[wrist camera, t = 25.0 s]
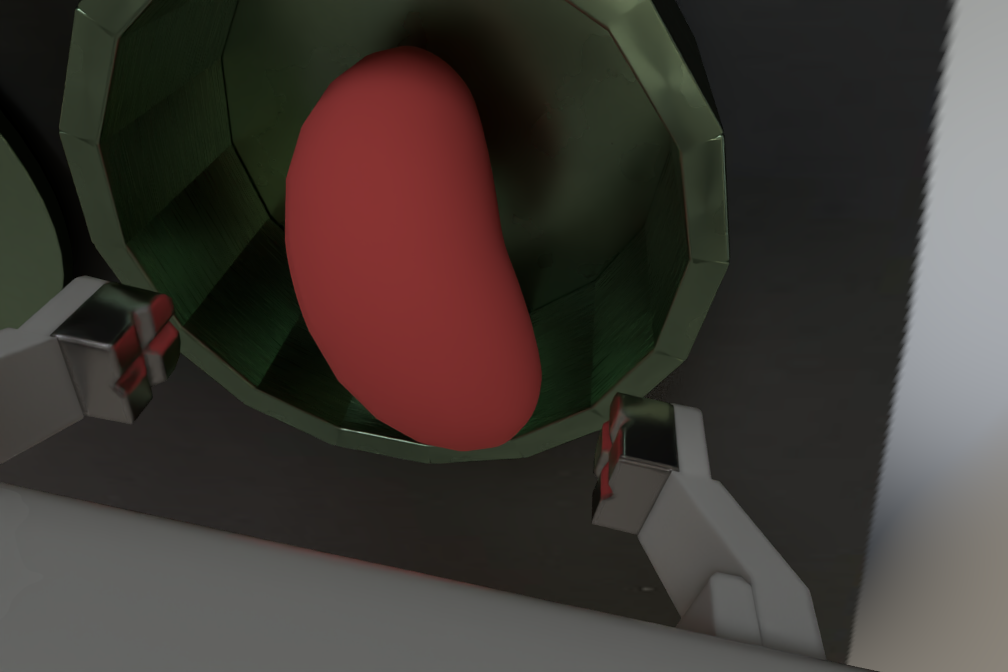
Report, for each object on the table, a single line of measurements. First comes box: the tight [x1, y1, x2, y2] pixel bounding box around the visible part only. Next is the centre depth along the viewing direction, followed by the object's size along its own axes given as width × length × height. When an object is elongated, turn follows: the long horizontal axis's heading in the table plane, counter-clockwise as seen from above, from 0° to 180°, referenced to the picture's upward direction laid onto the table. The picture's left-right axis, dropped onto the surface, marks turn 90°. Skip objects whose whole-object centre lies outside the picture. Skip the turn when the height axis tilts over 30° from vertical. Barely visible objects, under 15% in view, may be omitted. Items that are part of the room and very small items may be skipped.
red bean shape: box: [285, 46, 542, 451], centre depth 16 cm, size 5×9×6 cm, turn 8°
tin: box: [59, 0, 730, 464], centre depth 16 cm, size 14×14×6 cm
